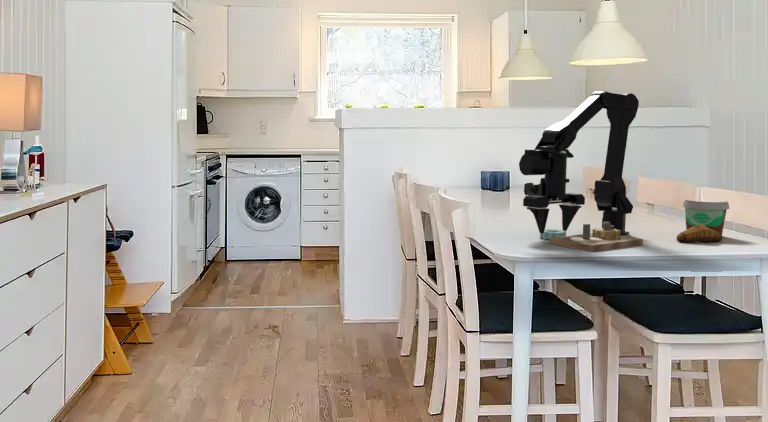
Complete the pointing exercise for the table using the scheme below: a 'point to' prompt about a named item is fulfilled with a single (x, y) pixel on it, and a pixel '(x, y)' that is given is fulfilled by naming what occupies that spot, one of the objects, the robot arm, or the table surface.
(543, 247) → the table surface
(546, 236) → the teal gear
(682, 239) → the croissant
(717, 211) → the food container
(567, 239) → the gear board
